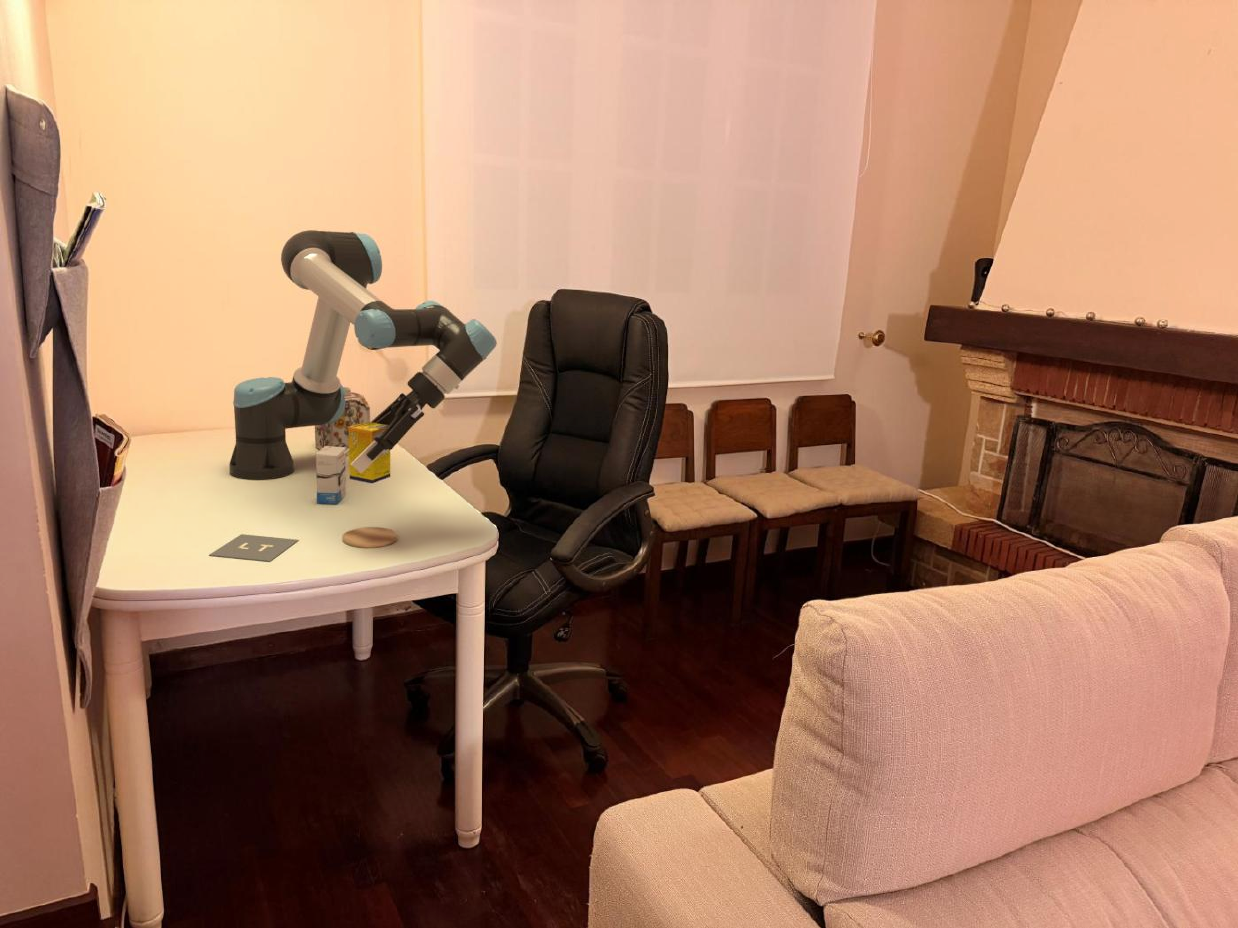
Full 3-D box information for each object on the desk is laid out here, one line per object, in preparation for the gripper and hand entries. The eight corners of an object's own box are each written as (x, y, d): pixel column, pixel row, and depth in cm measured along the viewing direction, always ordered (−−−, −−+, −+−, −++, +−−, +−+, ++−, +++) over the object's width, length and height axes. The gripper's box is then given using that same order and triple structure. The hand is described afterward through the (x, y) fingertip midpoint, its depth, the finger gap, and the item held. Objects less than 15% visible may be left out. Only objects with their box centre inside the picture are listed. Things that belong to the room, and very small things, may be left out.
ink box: (338, 505, 198) (337, 455, 195) (315, 504, 198) (314, 454, 195) (346, 494, 206) (346, 446, 203) (325, 493, 206) (324, 445, 203)
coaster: (354, 527, 184) (354, 524, 184) (404, 532, 184) (404, 529, 183) (333, 545, 174) (333, 542, 174) (386, 550, 173) (386, 547, 173)
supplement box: (367, 472, 179) (366, 421, 176) (391, 477, 177) (391, 425, 174) (348, 479, 174) (347, 426, 171) (372, 484, 172) (372, 430, 169)
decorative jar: (314, 448, 245) (313, 385, 241) (353, 443, 253) (352, 383, 248) (331, 457, 237) (330, 393, 232) (371, 453, 244) (371, 390, 240)
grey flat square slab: (241, 535, 176) (241, 533, 176) (298, 540, 175) (298, 539, 175) (209, 555, 164) (209, 554, 164) (270, 561, 163) (270, 560, 163)
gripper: (459, 406, 168) (375, 489, 166) (434, 386, 187) (358, 461, 184) (432, 379, 165) (346, 464, 162) (409, 362, 183) (331, 438, 180)
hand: (352, 462), depth 173 cm, fingers closed on supplement box, 8 cm apart
